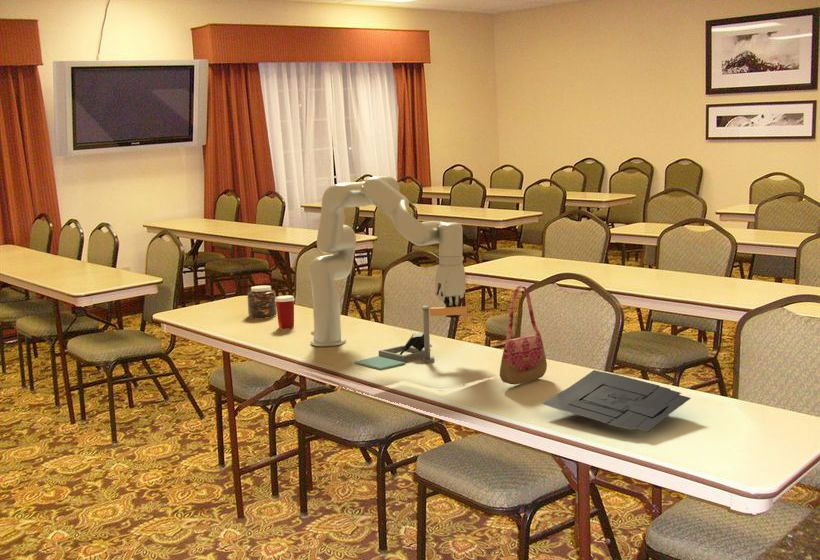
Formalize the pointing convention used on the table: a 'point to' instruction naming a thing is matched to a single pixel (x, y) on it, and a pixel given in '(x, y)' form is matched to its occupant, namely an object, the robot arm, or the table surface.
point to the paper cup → (285, 311)
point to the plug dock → (416, 353)
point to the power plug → (415, 342)
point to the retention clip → (448, 311)
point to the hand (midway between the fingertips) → (451, 316)
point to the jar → (261, 302)
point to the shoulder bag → (522, 351)
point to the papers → (618, 400)
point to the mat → (379, 363)
